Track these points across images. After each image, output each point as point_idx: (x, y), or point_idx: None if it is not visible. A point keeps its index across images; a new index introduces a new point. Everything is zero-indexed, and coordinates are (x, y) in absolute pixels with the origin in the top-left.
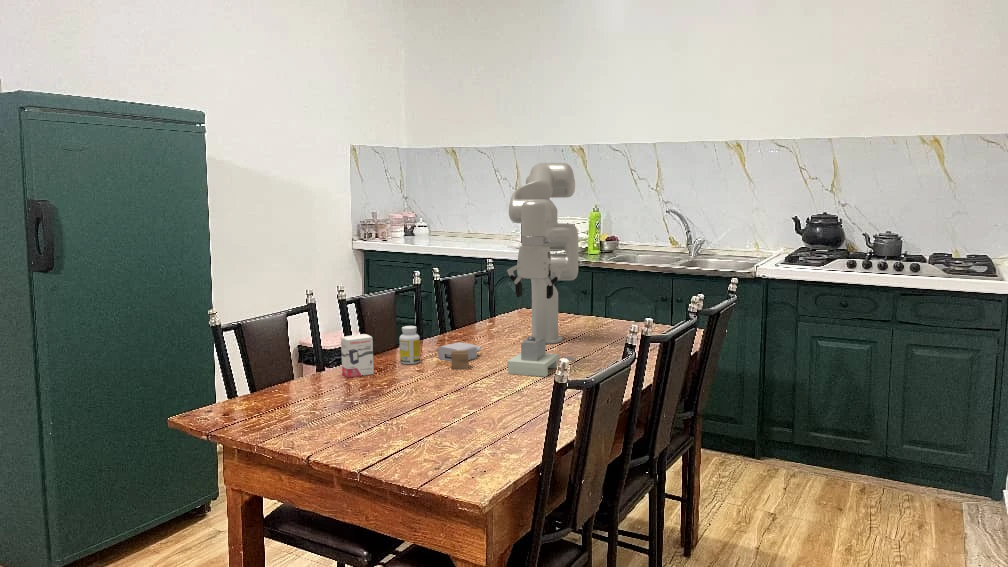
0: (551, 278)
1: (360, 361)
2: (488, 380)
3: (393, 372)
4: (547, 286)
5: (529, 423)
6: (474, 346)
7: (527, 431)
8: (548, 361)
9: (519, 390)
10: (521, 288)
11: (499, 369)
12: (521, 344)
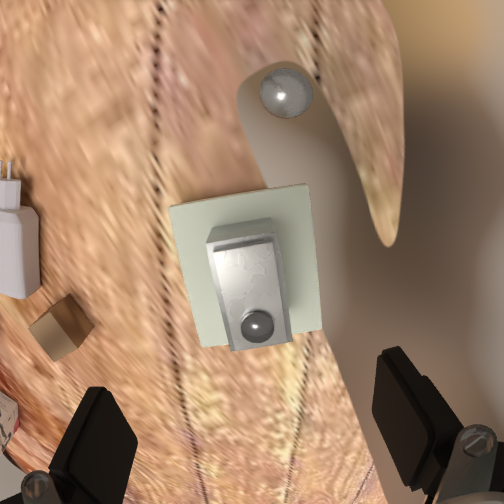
0: (485, 490)
1: (9, 430)
2: (201, 388)
3: (25, 389)
4: (414, 486)
5: (367, 481)
6: (17, 230)
7: (371, 491)
8: (319, 297)
9: (302, 413)
10: (96, 448)
11: (157, 295)
12: (231, 348)
